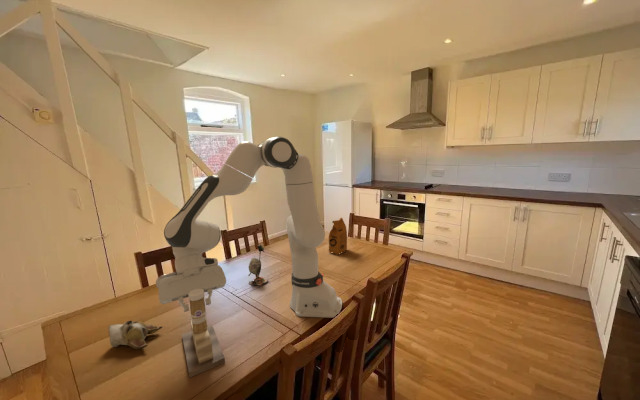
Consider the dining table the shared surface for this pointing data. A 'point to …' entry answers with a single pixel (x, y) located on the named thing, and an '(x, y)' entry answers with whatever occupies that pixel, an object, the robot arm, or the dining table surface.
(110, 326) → the ceramic sculpture
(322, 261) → the dining table surface
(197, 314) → the sprinkles bottle
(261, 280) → the bird figurine
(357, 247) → the dining table surface
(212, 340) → the ridge stand
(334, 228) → the coffee package
